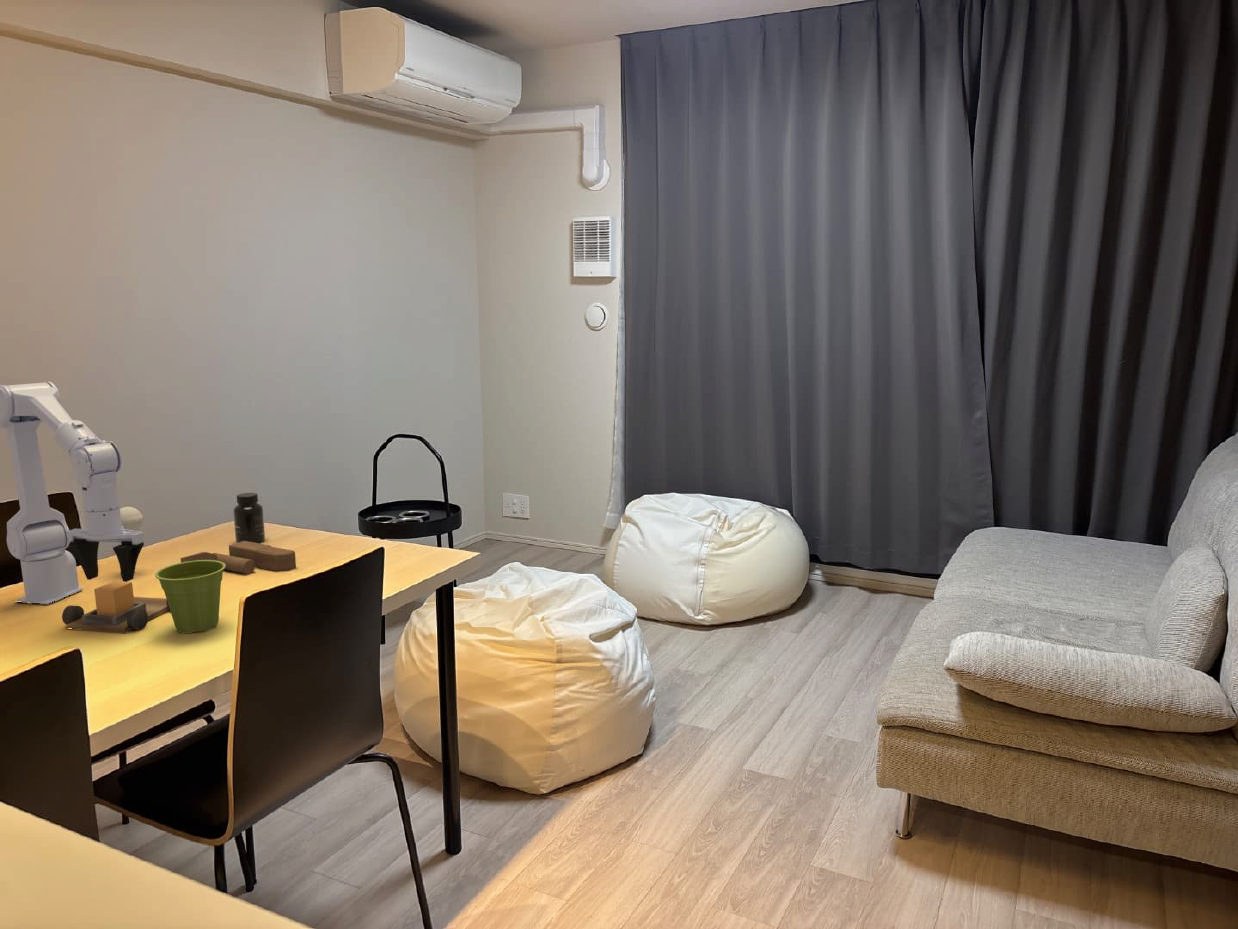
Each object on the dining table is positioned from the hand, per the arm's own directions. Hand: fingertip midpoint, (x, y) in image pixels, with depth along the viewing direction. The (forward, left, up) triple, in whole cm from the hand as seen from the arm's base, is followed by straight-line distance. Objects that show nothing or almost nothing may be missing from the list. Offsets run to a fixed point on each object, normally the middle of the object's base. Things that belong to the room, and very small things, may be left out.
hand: (110, 579), depth 173 cm
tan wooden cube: (0, 0, -7) cm, 7 cm away
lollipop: (-28, -18, -9) cm, 34 cm away
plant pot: (0, +17, -9) cm, 19 cm away
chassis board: (-3, 0, -8) cm, 9 cm away
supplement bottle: (-56, -7, -9) cm, 57 cm away
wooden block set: (-32, +5, -9) cm, 34 cm away
